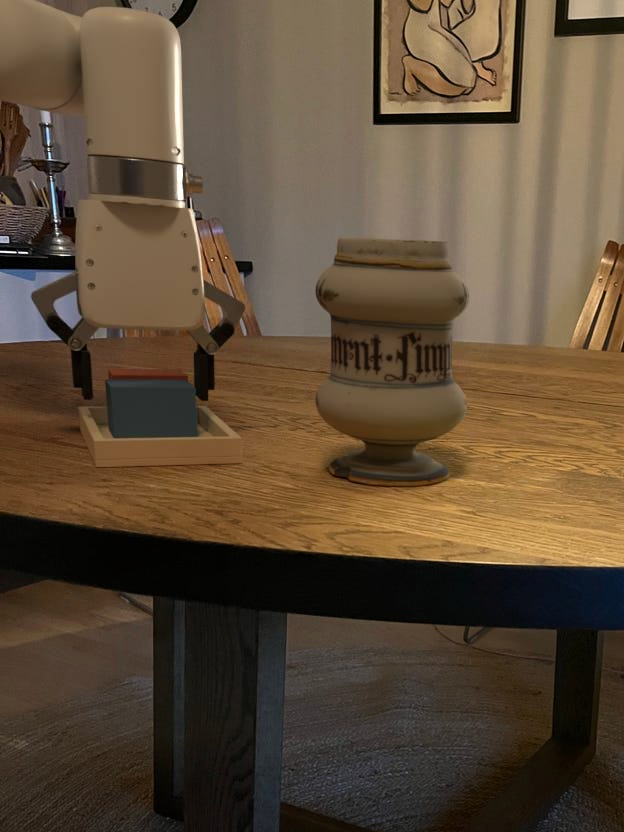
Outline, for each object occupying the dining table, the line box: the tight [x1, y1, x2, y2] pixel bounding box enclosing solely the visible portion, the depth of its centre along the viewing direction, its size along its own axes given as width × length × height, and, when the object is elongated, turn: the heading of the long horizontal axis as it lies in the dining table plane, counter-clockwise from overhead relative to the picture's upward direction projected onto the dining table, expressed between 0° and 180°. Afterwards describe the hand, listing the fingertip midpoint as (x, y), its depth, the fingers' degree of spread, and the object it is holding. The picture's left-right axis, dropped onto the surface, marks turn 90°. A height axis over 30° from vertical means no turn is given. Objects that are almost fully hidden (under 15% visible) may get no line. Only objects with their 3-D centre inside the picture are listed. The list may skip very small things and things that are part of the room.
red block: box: [107, 368, 190, 382], centre depth 101 cm, size 7×5×4 cm, turn 114°
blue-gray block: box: [104, 378, 197, 439], centre depth 91 cm, size 7×5×4 cm, turn 114°
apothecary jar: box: [315, 237, 470, 488], centre depth 81 cm, size 12×12×18 cm
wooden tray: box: [77, 405, 243, 468], centre depth 89 cm, size 17×11×2 cm
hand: (145, 397), depth 90 cm, fingers open, 9 cm apart
